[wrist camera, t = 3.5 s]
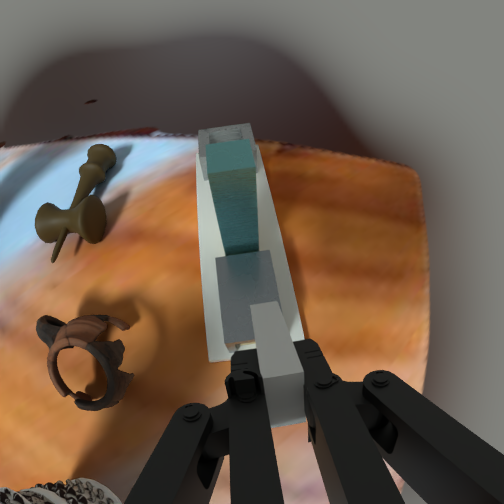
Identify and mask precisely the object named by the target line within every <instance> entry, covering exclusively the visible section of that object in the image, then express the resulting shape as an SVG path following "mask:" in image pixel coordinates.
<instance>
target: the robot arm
mask: <svg viewBox="0 0 504 504" xmlns="http://www.w3.org/2000/svg"><path fill="white" fill-rule="evenodd" d="M250 308H251V315H252V322H253V329H254V336H255V342H256V348H255V349H247V350H240V351H235V352H234V354H233V355H232V357H231V373H230V374H229V375H228V376H227V377H226V379H225V386H226V390H227V394H228V399H227V400H226V401H225V402H224V403H222V404H220V405H218V406H216V407H212V408H208V407H207V406H205V405H204V404H200V403H190V404H186V405H183V406H182V407H180V408H178V410H177V411H176V412H175V413H174V415H173V417H172V419H171V421H170V422H169V424H168V426H167V428H166V430H165V431H164V433H163V435H162V437H161V439H160V440H159V442H158V444H157V446H156V448H155V449H154V451H153V453H152V455H151V456H150V458H149V460H148V462H147V464H146V465H145V467H144V469H143V471H142V472H141V474H140V476H139V478H138V480H137V481H136V483H135V485H134V487H133V488H132V490H131V492H130V494H129V495H128V497H127V499H126V501H125V502H124V504H209V502H210V499H211V496H212V493H213V490H214V487H215V484H216V481H217V478H218V475H219V472H220V469H221V466H222V463H223V460H224V456H226V455H228V454H229V455H230V493H231V504H284V500H283V494H282V489H281V483H280V477H279V472H278V466H277V460H276V455H275V449H274V443H273V438H272V432H271V428H274V427H280V426H286V425H292V424H297V423H302V422H306V418H307V421H308V442H312V445H313V449H314V452H315V455H316V459H317V462H318V465H319V469H320V472H321V476H322V479H323V482H324V486H325V489H326V492H327V496H328V499H329V502H330V504H405V502H404V500H403V498H402V496H401V494H400V492H399V490H398V488H397V486H396V484H395V482H394V480H393V478H392V476H391V474H390V472H389V470H388V468H387V466H386V464H385V462H384V460H385V461H386V462H387V463H388V464H389V465H390V466H391V467H392V468H393V469H394V470H395V471H396V472H397V473H398V474H399V475H400V476H401V477H402V478H403V480H404V481H405V482H407V484H408V485H409V486H410V487H411V488H412V489H413V490H414V491H415V492H416V493H417V494H418V495H419V496H420V497H421V498H422V499H423V500H424V501H425V502H426V503H428V504H504V455H503V454H502V453H500V452H499V451H498V450H496V449H495V448H493V447H492V446H491V445H489V444H488V443H486V442H485V441H484V440H482V439H481V438H480V437H478V436H477V435H476V434H474V433H473V432H471V431H470V430H469V429H467V428H466V427H465V426H463V425H462V424H460V423H459V422H457V421H456V420H455V419H454V418H452V417H451V416H450V415H448V414H447V413H446V412H444V411H443V410H442V409H440V408H439V407H438V406H436V405H435V404H433V403H432V402H430V401H429V400H428V399H427V398H425V397H424V396H423V395H421V394H420V393H419V392H417V391H416V390H415V389H413V388H412V387H411V386H409V385H408V384H407V383H405V382H404V381H403V380H401V379H400V378H399V377H397V376H396V375H395V374H393V373H391V372H389V371H385V370H377V371H373V372H370V373H369V374H367V375H366V376H365V378H364V379H363V382H347V381H342V379H341V378H340V377H339V376H338V375H336V374H334V373H332V371H331V369H330V367H329V365H328V363H327V361H326V359H325V357H324V356H323V353H322V351H321V349H320V347H319V345H318V344H317V343H316V342H315V341H313V340H312V339H305V340H300V341H294V342H293V341H292V339H291V336H290V333H289V331H288V328H287V325H286V323H285V320H284V317H283V315H282V312H281V309H280V307H279V304H278V301H273V302H267V303H260V304H253V305H250ZM383 459H384V460H383Z"/></svg>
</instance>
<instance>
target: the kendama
mask: <svg viewBox="0 0 504 504" xmlns="http://www.w3.org/2000/svg"><path fill="white" fill-rule="evenodd" d="M87 156H88V160H87V162H86V163H85V164H83V165H82V166H81V167H80V168H79V174H80V176H81V177H80V181H79V184H78V187H77V190H76V193H75V196H74V199H73V202H72V204H71V207H70V209H68V210H61V209H59V208H58V207H57V206H55V205H54V204H51V203H48V202H47V203H45V204H44V205H42V206H41V207H40V209H39V210H38V212H37V215H36V218H35V229H36V232H37V234H38V236H39V238H40V239H41V240H42V241H44V242H45V243H53V242H54V241H55V240H57V239H58V240H57V243H56V245H55V248H54V251H53V254H52V258H51V262H52V263H54V262H55V261H56V259H57V257H58V254H59V252H60V250H61V247H62V245H63V243H64V241H65V238H66V236H67V234H68V233H78V234H79V235H80V236H81V237H82V238H84V239H85V240H86V241H87V242H88V243H92V244H96V243H98V242H99V241H100V240H101V238H102V236H103V234H104V231H105V227H106V212H105V208H104V206H103V203H102V201H101V200H100V199H99V198H98V197H97V196H94V195H90V196H88V195H89V194H90V193H91V191H92V190H93V189H94V187H95V186H96V185H97V184H100V183H102V182H103V181H104V180H105V177H106V175H105V172H106V171H107V169H108V168H111V167H113V166H114V165H115V164H116V155H115V153H114V151H113V150H112V149H111V148H110V147H109V146H107V145H104V144H96V145H93V146H91V147H90V148H89V150H88V154H87Z"/></svg>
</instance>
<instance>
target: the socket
mask: <svg viewBox="0 0 504 504" xmlns="http://www.w3.org/2000/svg"><path fill="white" fill-rule="evenodd" d="M242 139H249V140H250V145H251V149H252V153H253V157H254V162H255V166H256V173H258V167H257V148H256V145H255V141H254V137H253V133H252V130H251V126H250V123H247V124H238V125H230V126H223V127H217V128H210V129H203V130H198V140H199V160H200V165H201V169H202V174H203V178H204V181H206V180H208V175H207V162H206V145H207V144H213V143H220V142H227V141H234V140H242Z"/></svg>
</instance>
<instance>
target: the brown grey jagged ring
mask: <svg viewBox="0 0 504 504" xmlns="http://www.w3.org/2000/svg"><path fill="white" fill-rule="evenodd" d="M104 321H109V322H110V323H112V324H114V325H115V326H117V327H118V328H120V329H121V330H122V331H124V330H128V329H129V328H130V327H129V325H127V324H126V323H125V322H123V321H121V320H119V319H117V318H114V317H110V316H108V315H86V316H82V317H78V318H75V319H73V320H71V321H69V322H68V324H65V323H64V322H62V321H60V320H58V319H56V318H54V317H52V316H48V315H44V316H43V317H41V318H39V319H38V320H37V326H36V331H37V334H38V336H39V338H40V339H41V340H42V341H43V342H44V343H46V344H47V346H48V347H49V353H48V357H47V366H48V371H49V375H50V378H51V380H52V382H53V384H54V386H55V388H56V389H57V391H58V392H59V393H60V394H61V395H62V396H63V397H66V396H67V395H70V396H71V397H72V398H74V399H75V401H74V402H75V404H76V405H77V407H78V408H80V409H83V410H87V411H97V410H101V409H103V408H108V407H112V406H114V405H116V404H118V403H119V400H121V399H123V397H124V395H125V392H126V389H127V387H128V385H129V383H130V382H131V381H132V379H133V377H134V374H133V373H131V374H129V373H126V372H123V371H120V370H118V367H119V366H120V365H121V364H122V361H123V353H124V351H125V347H124V345H123V343H122V341H121V340H120V339H118V340H116V341H114V342H111V341H105V342H100V341H99V342H98V341H95V340H96V339H97V337H98V336H99V335H100V334H101V333H102V332H104V331H105V330H106V327H107V324H106V323H105V322H104ZM74 346H78V347H81V348H83V349H85V350H88V351H89V352H90V353H91V354H92V355H93V356H94V357H95V358H96V359H97V360H98V361H99V363H100V364H101V366H102V367H103V369H104V371H105V374H106V377H107V383H108V384H107V392H106V394H105V396H104V397H103V398H101V399H99V400H96V401H92V397H91V396H90V395H88V394H86V393H83V392H80V391H78V392H76V394H75V393H73V392H72V391H71V390H70V389H69V388H68V387H67V385H66V384H65V383H64V381H63V379H62V378H61V376H60V374H59V371H58V367H57V356H58V353H59V352H60V350H62V349H67V348H74Z"/></svg>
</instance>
